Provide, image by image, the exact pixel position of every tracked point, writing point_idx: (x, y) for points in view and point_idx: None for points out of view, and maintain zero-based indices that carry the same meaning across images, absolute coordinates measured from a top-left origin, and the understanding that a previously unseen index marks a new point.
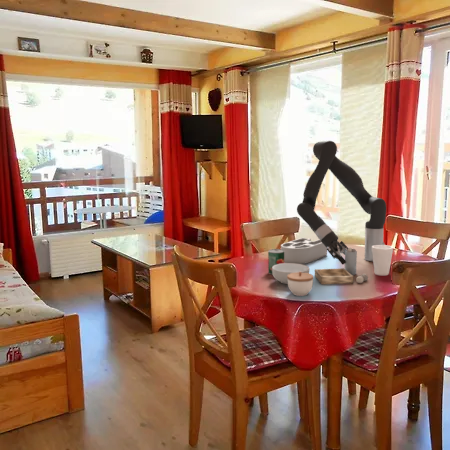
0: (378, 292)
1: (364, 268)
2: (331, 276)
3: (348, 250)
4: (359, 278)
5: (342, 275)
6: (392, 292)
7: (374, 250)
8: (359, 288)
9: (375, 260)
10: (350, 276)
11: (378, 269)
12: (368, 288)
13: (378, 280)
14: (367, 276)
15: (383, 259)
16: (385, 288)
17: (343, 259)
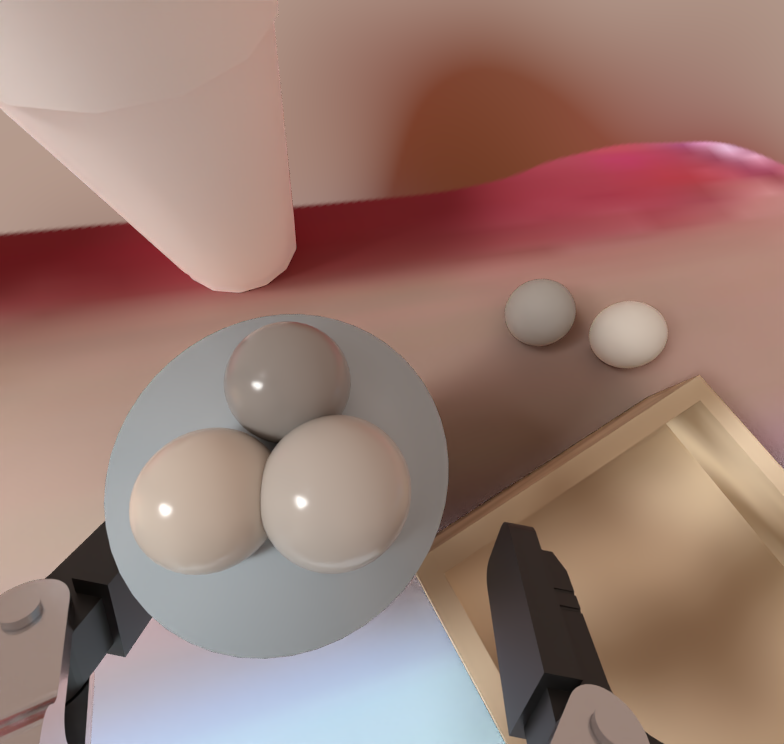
0: (741, 205)
1: (59, 406)
2: (615, 672)
3: (409, 506)
4: (666, 324)
5: None
6: (683, 142)
7: (209, 16)
8: (745, 323)
9: (255, 171)
10: (719, 399)
11: (287, 222)
12: (700, 269)
13: (455, 239)
14: (544, 279)
15: (279, 75)
16: (628, 181)
17: (549, 578)
